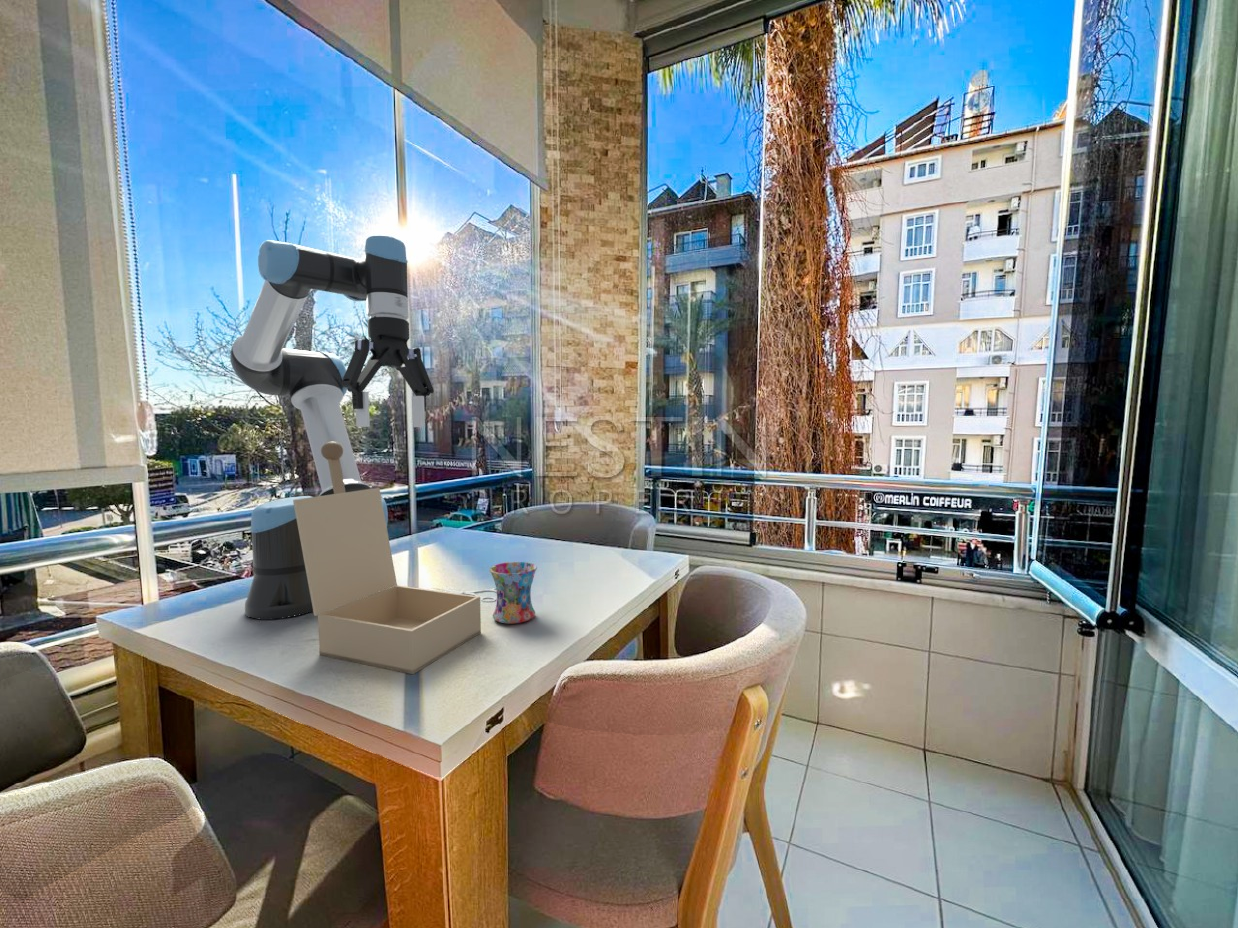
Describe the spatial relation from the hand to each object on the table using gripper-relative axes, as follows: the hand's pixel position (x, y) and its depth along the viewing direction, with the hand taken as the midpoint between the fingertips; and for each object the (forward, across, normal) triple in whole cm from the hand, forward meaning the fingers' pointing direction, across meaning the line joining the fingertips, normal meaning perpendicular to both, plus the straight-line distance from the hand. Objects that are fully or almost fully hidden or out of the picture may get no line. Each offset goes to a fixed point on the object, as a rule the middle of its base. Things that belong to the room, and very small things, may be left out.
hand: (392, 427), depth 106 cm
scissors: (+39, +18, -1) cm, 44 cm away
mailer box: (+39, -9, -11) cm, 41 cm away
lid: (+17, -10, 0) cm, 20 cm away
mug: (+39, +11, -21) cm, 46 cm away
